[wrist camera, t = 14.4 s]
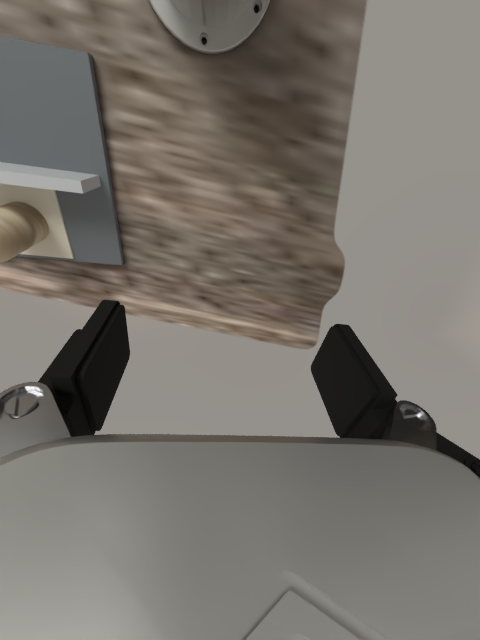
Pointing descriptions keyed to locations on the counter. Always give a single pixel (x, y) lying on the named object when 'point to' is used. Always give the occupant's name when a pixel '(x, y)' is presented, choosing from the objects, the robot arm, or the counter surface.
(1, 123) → the fence board
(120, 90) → the counter surface
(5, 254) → the birch cylinder
